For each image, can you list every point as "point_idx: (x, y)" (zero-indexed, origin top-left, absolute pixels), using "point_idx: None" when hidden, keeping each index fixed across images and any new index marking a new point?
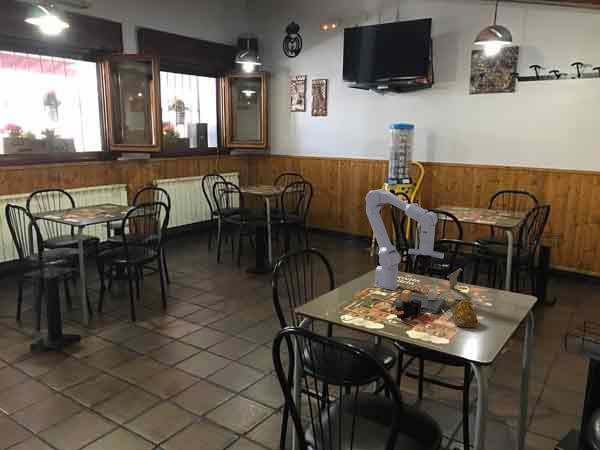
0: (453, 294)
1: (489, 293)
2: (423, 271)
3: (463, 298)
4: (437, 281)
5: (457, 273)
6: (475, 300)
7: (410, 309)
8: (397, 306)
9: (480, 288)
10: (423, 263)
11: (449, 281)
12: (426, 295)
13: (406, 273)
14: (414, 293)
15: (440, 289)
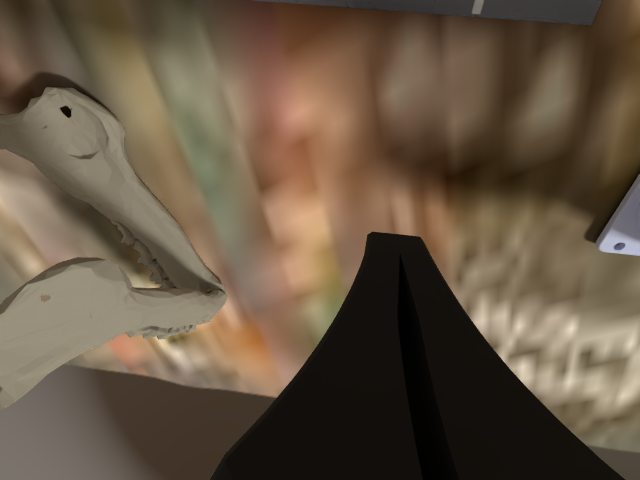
0: (165, 211)
1: None
2: (402, 246)
3: (50, 139)
4: None
5: (23, 340)
6: (9, 175)
7: None
8: None
9: (116, 359)
10: (427, 369)
11: (172, 293)
12: (325, 3)
13: None
14: (468, 1)
15: (284, 282)
